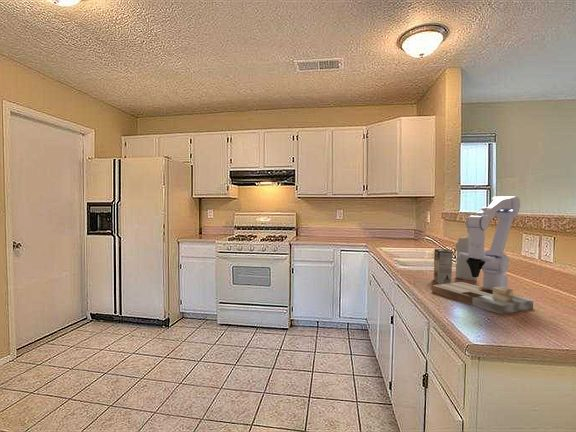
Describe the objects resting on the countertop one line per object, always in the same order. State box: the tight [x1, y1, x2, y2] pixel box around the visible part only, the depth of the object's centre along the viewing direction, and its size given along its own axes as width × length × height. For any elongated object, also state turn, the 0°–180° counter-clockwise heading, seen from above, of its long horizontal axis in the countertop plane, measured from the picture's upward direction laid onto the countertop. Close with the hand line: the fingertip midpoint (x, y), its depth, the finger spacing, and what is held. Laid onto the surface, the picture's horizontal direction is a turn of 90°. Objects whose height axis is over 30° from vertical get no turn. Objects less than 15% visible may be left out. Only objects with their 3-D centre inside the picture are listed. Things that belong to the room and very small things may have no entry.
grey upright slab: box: [455, 236, 478, 282], centre depth 162 cm, size 11×4×22 cm, turn 51°
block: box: [493, 287, 514, 301], centre depth 117 cm, size 4×4×4 cm
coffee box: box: [433, 248, 453, 285], centre depth 155 cm, size 9×6×16 cm
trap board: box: [431, 281, 534, 315], centre depth 126 cm, size 18×30×3 cm, turn 23°
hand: (475, 276), depth 129 cm, fingers closed
